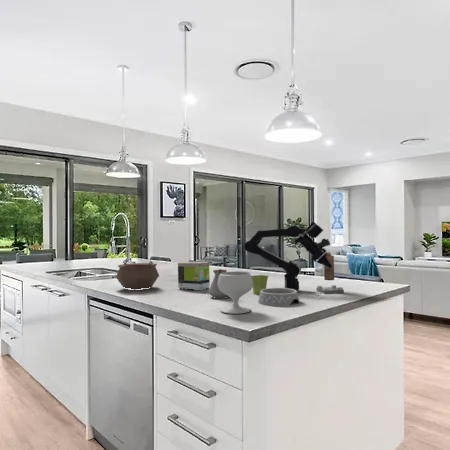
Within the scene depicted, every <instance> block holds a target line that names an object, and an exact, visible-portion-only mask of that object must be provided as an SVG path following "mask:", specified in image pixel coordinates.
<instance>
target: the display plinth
mask: <svg viewBox="0 0 450 450" xmlns="http://www.w3.org/2000/svg"><path fill="white" fill-rule="evenodd" d="M316 291H317V292H319V293H321V294H324V295H327V294H328V295H329V294H345V289H344V287H343V286H342V287H341V286H338V287H337V285H335V284H331V285H330V286H326V287H325V286H324V287H323V286H322V285H317V286H316Z"/></svg>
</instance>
